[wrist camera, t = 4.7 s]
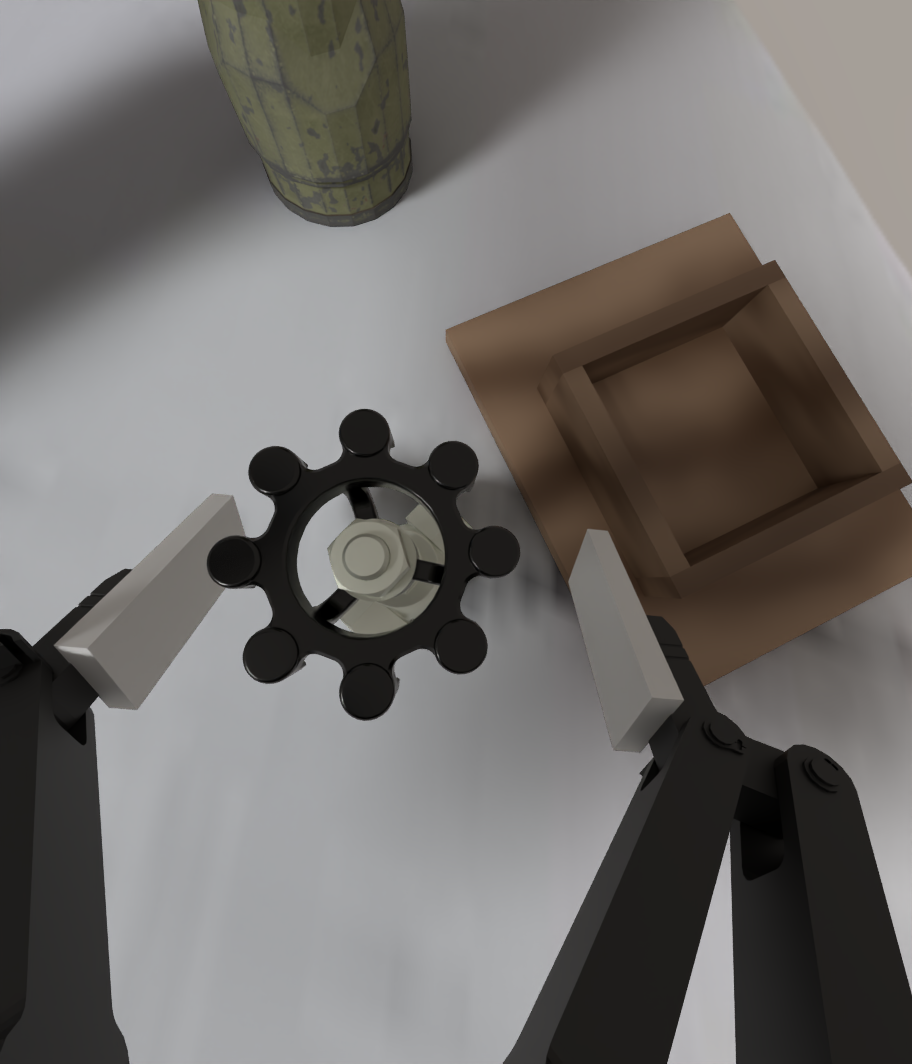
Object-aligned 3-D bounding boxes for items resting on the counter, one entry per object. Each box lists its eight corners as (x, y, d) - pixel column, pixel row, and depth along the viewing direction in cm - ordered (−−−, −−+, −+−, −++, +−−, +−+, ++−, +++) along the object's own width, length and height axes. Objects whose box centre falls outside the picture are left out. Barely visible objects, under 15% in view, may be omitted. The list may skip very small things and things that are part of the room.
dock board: (445, 341, 22) (445, 287, 18) (717, 228, 23) (774, 155, 19) (630, 712, 19) (678, 746, 15) (919, 561, 21) (1031, 555, 17)
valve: (321, 575, 20) (136, 565, 8) (410, 484, 21) (363, 349, 9) (414, 665, 19) (367, 796, 7) (502, 568, 20) (584, 547, 8)
